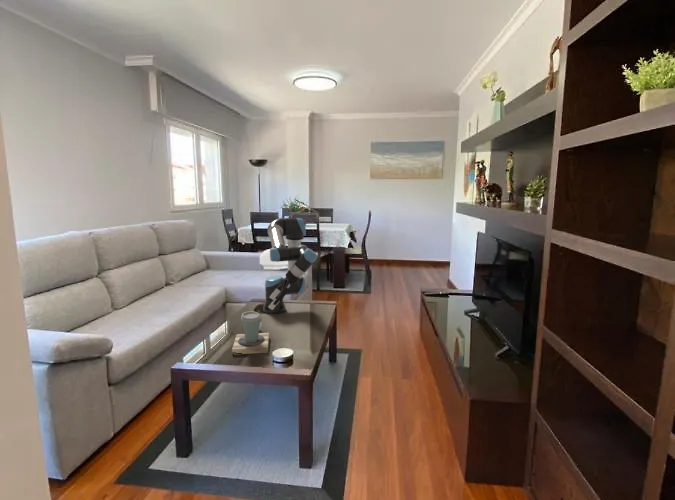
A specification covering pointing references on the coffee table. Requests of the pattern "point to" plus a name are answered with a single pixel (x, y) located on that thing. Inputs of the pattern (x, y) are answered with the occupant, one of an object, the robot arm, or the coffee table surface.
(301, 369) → the coffee table surface
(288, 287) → the robot arm
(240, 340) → the birch riser
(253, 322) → the disposable coffee cup
